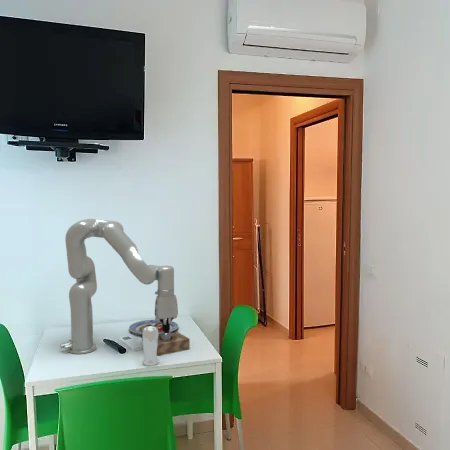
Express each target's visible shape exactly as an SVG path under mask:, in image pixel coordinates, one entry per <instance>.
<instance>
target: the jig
mask: <svg viewBox="0 0 450 450" xmlns="http://www.w3.org/2000/svg"><path fill="white" fill-rule="evenodd" d="M158 336H159V341H158V348H157V357H159V356H163V355H169V354H172V353H173V354H174V353H178V352H183V351H188V350H190V345H191V343H190V341H191V340H190V337H187V336H186V335H184V334H183V333H180V332H179V331H176V332H174V331H173V332H171V340H168V341H163V340H161V334H159V335H158Z"/></svg>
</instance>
